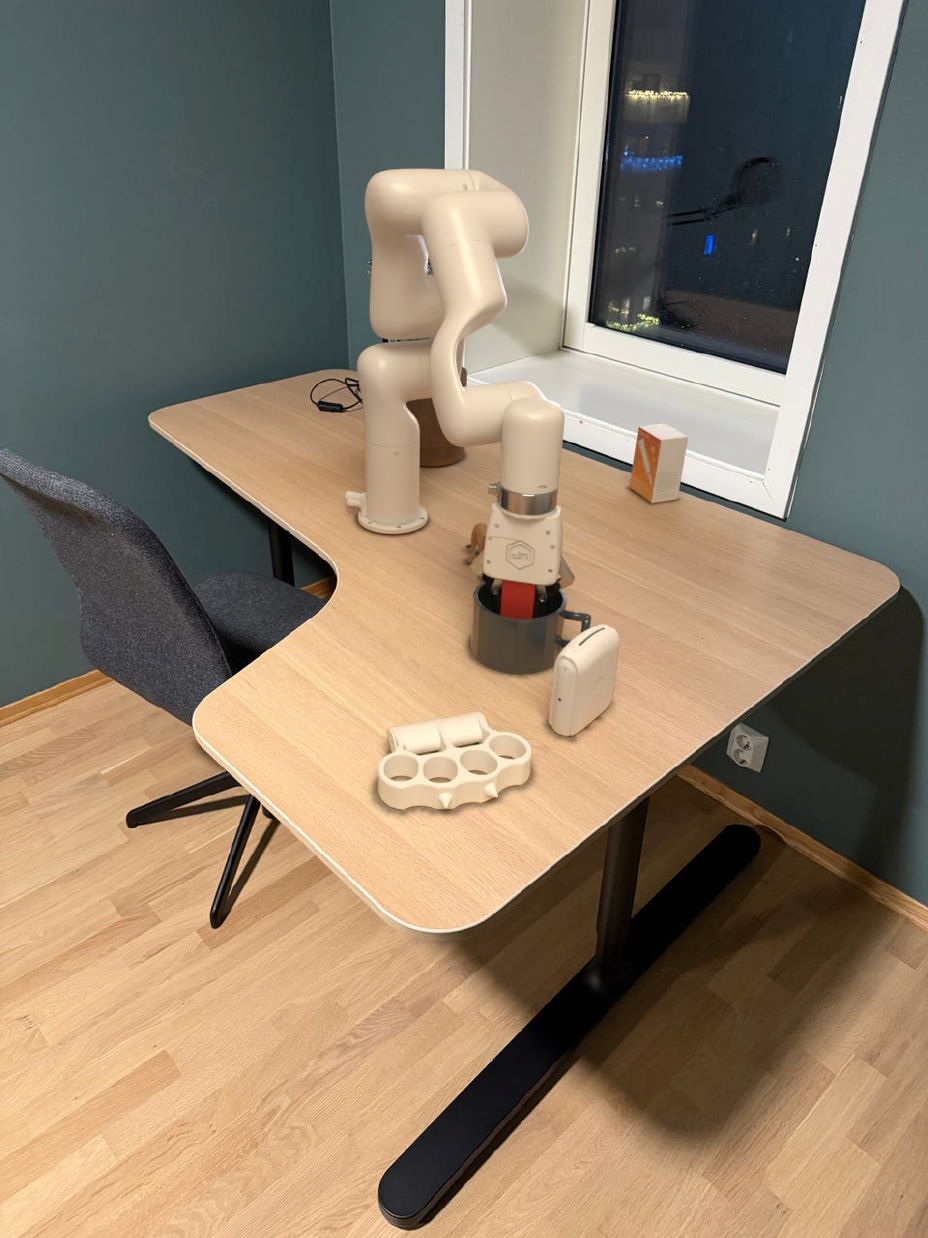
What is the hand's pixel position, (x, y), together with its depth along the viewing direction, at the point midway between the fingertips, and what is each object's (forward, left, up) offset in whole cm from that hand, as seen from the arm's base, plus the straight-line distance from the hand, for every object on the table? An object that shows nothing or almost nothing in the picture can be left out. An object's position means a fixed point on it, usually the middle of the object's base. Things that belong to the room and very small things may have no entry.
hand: (518, 617), depth 122 cm
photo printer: (+11, -13, -5) cm, 18 cm away
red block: (0, 0, -1) cm, 1 cm away
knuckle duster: (-2, -28, -5) cm, 29 cm away
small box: (+15, +63, -5) cm, 65 cm away
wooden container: (-33, +69, -5) cm, 77 cm away
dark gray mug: (+2, 0, -5) cm, 6 cm away
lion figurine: (-9, +22, -5) cm, 24 cm away
